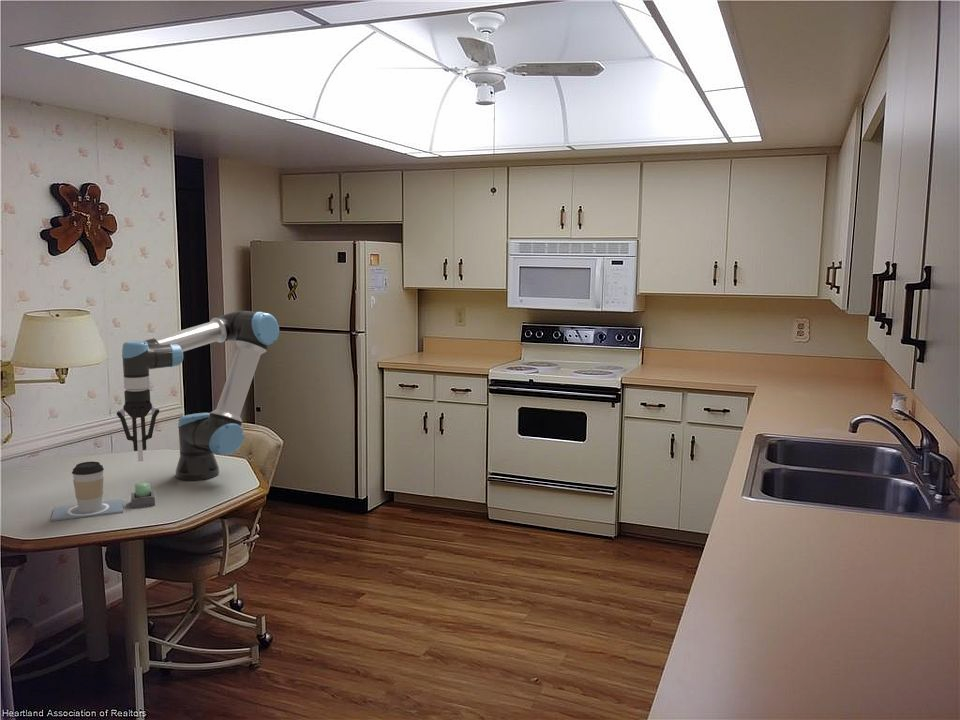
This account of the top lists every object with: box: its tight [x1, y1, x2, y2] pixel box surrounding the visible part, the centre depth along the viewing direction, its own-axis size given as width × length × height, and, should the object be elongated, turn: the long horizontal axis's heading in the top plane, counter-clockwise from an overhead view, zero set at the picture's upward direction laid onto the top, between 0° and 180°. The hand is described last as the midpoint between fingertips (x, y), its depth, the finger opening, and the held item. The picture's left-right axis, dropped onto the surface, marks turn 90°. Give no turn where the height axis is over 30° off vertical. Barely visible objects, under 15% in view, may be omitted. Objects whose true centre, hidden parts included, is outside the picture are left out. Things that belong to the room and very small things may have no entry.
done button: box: [134, 481, 151, 498], centre depth 247 cm, size 4×4×4 cm
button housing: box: [130, 490, 156, 509], centre depth 247 cm, size 7×7×3 cm
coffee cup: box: [71, 461, 105, 512], centre depth 239 cm, size 9×9×15 cm
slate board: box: [50, 499, 124, 522], centre depth 240 cm, size 20×12×1 cm, turn 115°
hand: (140, 460), depth 245 cm, fingers closed
